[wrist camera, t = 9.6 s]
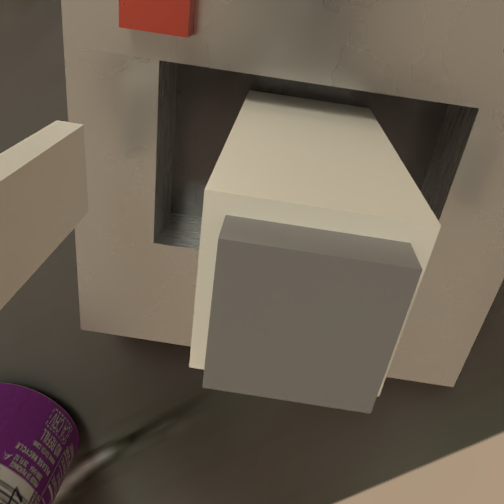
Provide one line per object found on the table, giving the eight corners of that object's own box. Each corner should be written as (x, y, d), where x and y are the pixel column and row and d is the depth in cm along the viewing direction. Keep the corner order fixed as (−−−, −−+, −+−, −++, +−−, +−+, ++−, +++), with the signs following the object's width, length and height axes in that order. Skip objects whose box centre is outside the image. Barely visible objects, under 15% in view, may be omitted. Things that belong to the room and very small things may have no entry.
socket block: (94, -126, 15) (37, -158, 12) (596, -52, 15) (682, -63, 12) (105, 290, 23) (73, 341, 20) (435, 341, 23) (458, 401, 20)
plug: (249, 90, 18) (194, 210, 8) (369, 108, 18) (457, 251, 8) (235, 200, 20) (179, 399, 10) (342, 217, 20) (386, 431, 10)
